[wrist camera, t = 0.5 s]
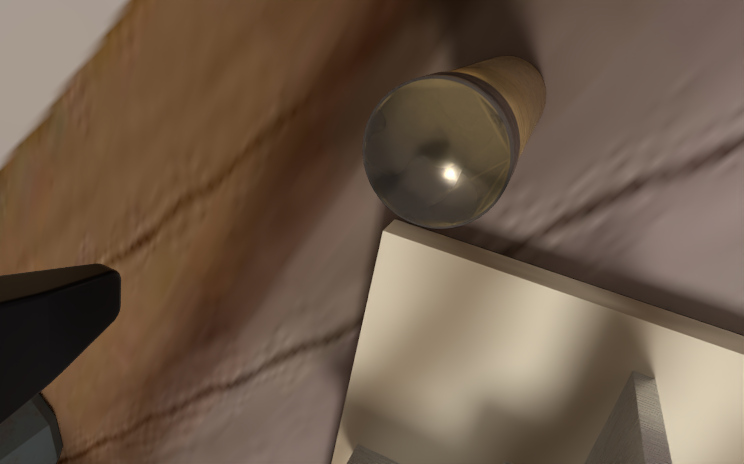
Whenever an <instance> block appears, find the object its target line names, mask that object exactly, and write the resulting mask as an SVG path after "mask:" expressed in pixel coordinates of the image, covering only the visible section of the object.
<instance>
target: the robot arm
mask: <svg viewBox="0 0 744 464" xmlns="http://www.w3.org/2000/svg"><path fill="white" fill-rule="evenodd" d="M120 306H121V277H120V274H119V273H118V272H117V271H116V270H114V269H111V268H109V267H107V266H105V265H102V264H89V265H81V266H73V267H65V268H58V269H50V270H42V271H34V272H26V273H18V274H11V275H3V276H0V425H1V424H2V423H3V422H4V421H5V420H7V419H8V418H9V417H10V416H11V415H13V414H14V413H15V412H16V411H18V410H19V409H20V408H21V407H22V406H24V405H25V404H26V403H27V402H28V401H30V400H31V399H32V398H33V397H34V396H36V395H37V394H38V393H39V392H41V391H42V390H43V389H44V388H45V387H46V386H47V385H49V384H50V383H51V382H52V381H53V380H54V379H55V378H56V377H57V376H58V375H60V374H61V373H62V372H63V371H64V370H65V369H66V368H67V367H68V366H69V365H70V364H71V363H72V362H73V361H74V360H75V359H76V358H77V357H78V356H79V355H80V354H81V353H82V352H83V351H84V350H85V349H86V348H87V347H88V346H89V345H90V344H91V343H92V342H93V341H94V340H95V339H96V338H97V337H98V336H99V335H100V334H101V333H102V332H103V331H104V330H105V329H106V328H107V327H108V326H109V325H110V324H111V323H112V322H113V321H114V320H115V319H116V317H117V316H118V314H119V311H120Z"/></svg>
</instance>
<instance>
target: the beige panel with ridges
mask: <svg viewBox="0 0 744 464" xmlns="http://www.w3.org/2000/svg"><path fill="white" fill-rule="evenodd" d="M331 464H744V336H742V335H739V334H736V333H733V332H730V331H727V330H724V329H721V328H718V327H715V326H712V325H709V324H706V323H703V322H700V321H697V320H694V319H691V318H688V317H685V316H682V315H679V314H676V313H673V312H670V311H667V310H664V309H661V308H658V307H655V306H653V305H650V304H647V303H644V302H641V301H638V300H635V299H632V298H629V297H626V296H623V295H620V294H617V293H614V292H611V291H608V290H605V289H602V288H599V287H596V286H593V285H590V284H587V283H584V282H581V281H578V280H575V279H572V278H569V277H566V276H563V275H560V274H557V273H554V272H551V271H548V270H545V269H542V268H539V267H536V266H533V265H530V264H527V263H524V262H521V261H518V260H515V259H512V258H509V257H506V256H503V255H500V254H497V253H494V252H491V251H488V250H486V249H483V248H480V247H477V246H474V245H471V244H468V243H465V242H462V241H459V240H456V239H453V238H450V237H447V236H444V235H441V234H438V233H435V232H432V231H429V230H426V229H423V228H420V227H417V226H414V225H411V224H408V223H405V222H402V221H399V220H396V219H394V220H393V221H392V222H391V223H390V224H389V225H388V226H387V227H386V228H385V229H384V230H383V233H382V237H381V242H380V246H379V251H378V255H377V260H376V264H375V269H374V273H373V278H372V282H371V287H370V291H369V296H368V301H367V305H366V310H365V314H364V319H363V323H362V328H361V332H360V337H359V341H358V346H357V350H356V355H355V359H354V364H353V368H352V373H351V377H350V382H349V386H348V391H347V395H346V400H345V404H344V409H343V413H342V418H341V422H340V427H339V431H338V436H337V440H336V445H335V449H334V454H333V458H332V463H331Z"/></svg>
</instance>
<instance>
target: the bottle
mask: <svg viewBox="0 0 744 464" xmlns="http://www.w3.org/2000/svg"><path fill="white" fill-rule="evenodd" d="M62 447H63V445H62V441H61V437H60V433H59V428H58V424H57V420H56V416H55V415H54V414H53V412H52V411H51V410H50V408H49V407H48V405H47V404H46V403H45V401H44V400H43V399H42V397H41V396H40V394H39V393H38V394H37V395H36V396H34V397H33V398H32V399H31V400H30V401H28V402H27V403H26V404H25V405H24V406H22V407H21V408H20V409H19V410H18V411H16V412H15V413H14V414H13V415H11V416H10V417H9V418H8V419H7V420H5V421H4V422H3V423H2V424H1V425H0V464H57V461H58V459H59V457H60V454H61V451H62Z"/></svg>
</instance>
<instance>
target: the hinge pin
mask: <svg viewBox="0 0 744 464" xmlns="http://www.w3.org/2000/svg"><path fill="white" fill-rule="evenodd" d="M545 103H546V88H545V84H544V81H543V79H542V77H541V75H540V73H539V72H538V71H537V69H536V68H535V67H534V66H533V65H531V64H530V63H529V62H527V61H525V60H523V59H521V58H518V57H513V56H499V57H495V58H492V59H488V60H485V61H482V62H478V63H475V64H472V65H468V66H465V67H462V68H458V69H455V70H452V71H448V72H438V73H434V74H430V75H426V76H423V77H419V78H416V79H412V80H410V81H407V82H405V83H403V84H401V85H399V86H398V87H396V88H394V89H393V90H392V91H390V92H389V93H388V94H387V95H386V96H385V97H384V98H383V99H382V100H381V101H380V102H379V103H378V105H377V106H376V107H375V109H374V110H373V112H372V114H371V116H370V118H369V120H368V123H367V125H366V129H365V133H364V138H363V161H364V167H365V171H366V174H367V177H368V179H369V182H370V184H371V186H372V188H373V190H374V191H375V193H376V194H377V196H378V197H379V198H380V200H381V201H382V202H383V203H384V204H385V205H386V206H387V207H388V208H389V209H390V210H391V211H392V212H394V213H395V214H397V215H398V216H399V217H401V218H403V219H405V220H406V221H408V222H411V223H413V224H416V225H419V226H423V227H427V228H435V229H446V228H454V227H458V226H462V225H465V224H467V223H470V222H472V221H474V220H476V219H478V218H479V217H481V216H482V215H484V214H485V213H486V212H488V211H489V210H490V209H491V208H492V207H493V206H494V205H495V203H496V202H497V201H498V200H499V198H500V197H501V195H502V194H503V192H504V190H505V188H506V186H507V184H508V183H509V181H510V179H511V177H512V175H513V173H514V170H515V168H516V165H517V162H518V158H519V156H520V155H521V153H522V151H523V149H524V147H525V145H526V143H527V141H528V139H529V138H530V136H531V134H532V132H533V130H534V128H535V126H536V124H537V122H538V121H539V119H540V117H541V115H542V113H543V110H544V107H545Z"/></svg>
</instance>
